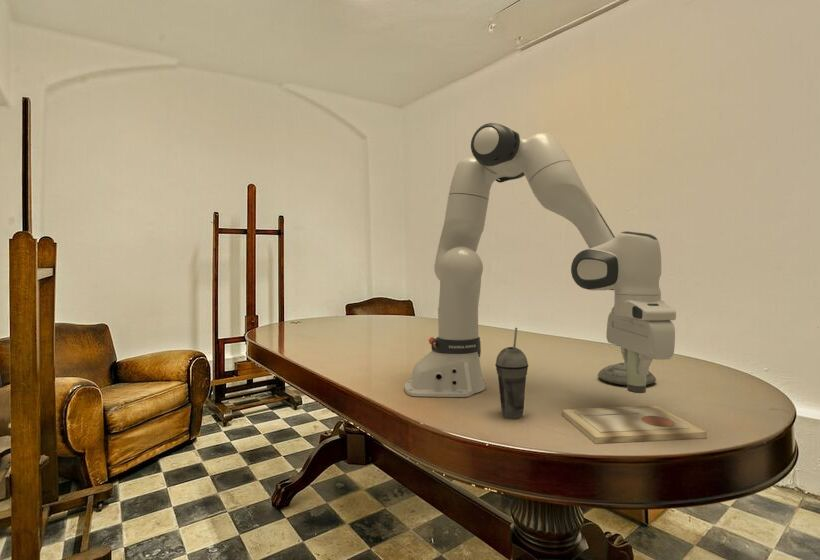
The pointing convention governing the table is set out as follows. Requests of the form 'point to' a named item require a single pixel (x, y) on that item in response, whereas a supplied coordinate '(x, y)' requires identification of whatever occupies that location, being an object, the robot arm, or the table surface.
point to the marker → (635, 374)
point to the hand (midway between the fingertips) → (635, 371)
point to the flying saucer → (620, 374)
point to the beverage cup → (512, 380)
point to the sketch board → (631, 424)
